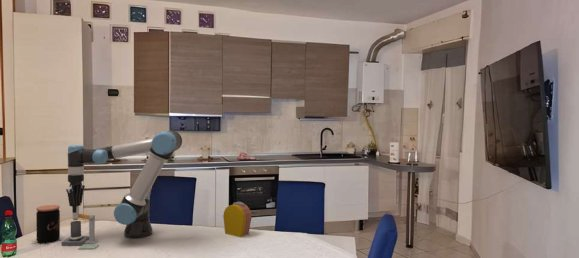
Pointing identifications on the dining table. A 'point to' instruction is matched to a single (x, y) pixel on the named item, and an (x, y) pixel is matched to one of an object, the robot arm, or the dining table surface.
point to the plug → (76, 231)
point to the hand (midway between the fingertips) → (75, 218)
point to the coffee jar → (48, 223)
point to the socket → (83, 237)
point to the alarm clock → (237, 219)
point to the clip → (86, 217)
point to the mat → (88, 246)
